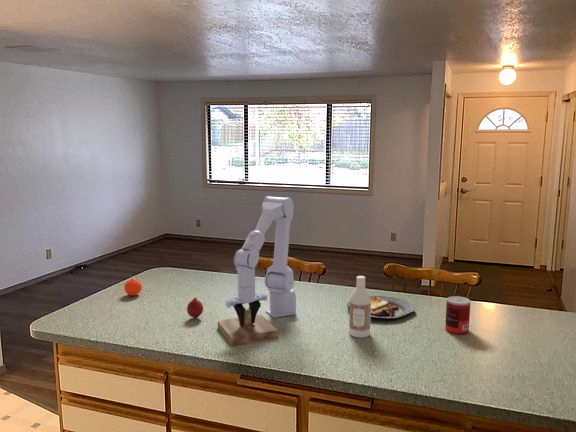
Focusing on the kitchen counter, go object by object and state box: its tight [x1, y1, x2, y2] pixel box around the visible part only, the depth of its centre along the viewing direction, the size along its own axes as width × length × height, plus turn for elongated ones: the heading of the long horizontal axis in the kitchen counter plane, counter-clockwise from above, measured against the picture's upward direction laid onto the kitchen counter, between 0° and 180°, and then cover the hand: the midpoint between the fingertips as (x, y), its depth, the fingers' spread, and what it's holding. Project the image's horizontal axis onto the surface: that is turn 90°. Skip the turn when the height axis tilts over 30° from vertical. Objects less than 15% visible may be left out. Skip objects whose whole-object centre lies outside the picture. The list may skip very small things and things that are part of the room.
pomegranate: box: [186, 296, 204, 319], centre depth 183 cm, size 6×6×8 cm
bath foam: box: [348, 275, 372, 339], centre depth 167 cm, size 7×7×20 cm
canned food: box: [444, 295, 471, 336], centre depth 171 cm, size 8×8×11 cm
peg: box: [243, 307, 252, 329], centre depth 171 cm, size 3×3×8 cm
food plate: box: [347, 294, 416, 320], centre depth 191 cm, size 25×23×4 cm
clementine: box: [124, 278, 143, 296], centre depth 210 cm, size 8×7×7 cm
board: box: [217, 313, 279, 347], centre depth 171 cm, size 16×16×2 cm
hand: (247, 323), depth 170 cm, fingers closed on peg, 3 cm apart
